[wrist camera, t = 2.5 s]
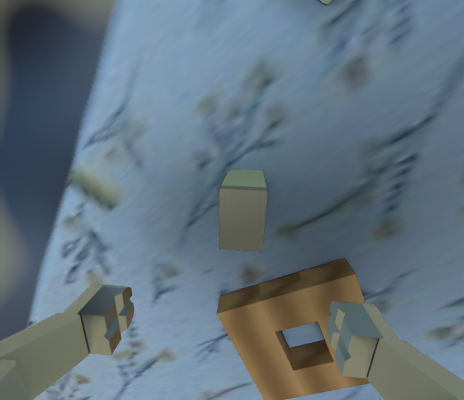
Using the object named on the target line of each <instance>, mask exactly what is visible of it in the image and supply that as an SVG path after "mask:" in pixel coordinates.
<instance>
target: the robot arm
mask: <svg viewBox="0 0 464 400" xmlns="http://www.w3.org/2000/svg"><path fill="white" fill-rule="evenodd" d="M131 296H132V291H131V288H130V287H126V286H115V285H103V284H93V285H90V286H89V287H88V288H87V289H86V290H85V291H84V292H83V293H82V294H81V295H80V296H79V297H78V298H77V299H76V300H75V301H74V302H73V303H72V304H71V305H70V306H69V307H68V308H67V309H66V310H65V311H64V312H63V313H57V314H55V315H53V316H51V317H49V318H47V319H45V320H43V321H41V322H39V323H37V324H35V325H33V326H31V327H29V328H27V329H24V330H22V331H20V332H18V333H16V334H14V335H12V336H10V337H8V338H6V339H4V340H2V341H0V400H33V399H34V398H36V397H37V396H38V395H39V394H41V393H42V392H43V391H44V390H46V389H47V388H48V387H49V386H51V385H52V384H53V383H54V382H56V381H57V380H58V379H59V378H61V377H62V376H63V375H64V374H66V373H67V372H68V371H69V370H71V369H72V368H73V367H75V366H76V365H77V364H78V363H80V362H81V361H82V360H83V359H85V358H86V357H87V356H88V355H89V354H104V355H112V353H113V352H114V350H115V348H116V347H117V345H118V343H119V342H120V340H121V334H120V333H122V332H123V331H125V330H126V329H127V328H128V327H129V325H130V323H131V321H132V318H133V314H134V305H133V303H132V302H131V301H130V297H131ZM329 310H330V312H331V316H330V317H328V318H327V324H326V329H327V336H328V340H329V343H330V346H331V347H333V348H334V349H335V350H336V353H335V359H336V362H337V364H338V367H339V370H340V372H341V375H342V376H349V377H358V378H366V379H367V380H368V382H369V383H370V384H371V385H372V386H373V387H374V388H375V389H376V390H377V391H378V392H379V394H380V395H381V396H382V397H383V398H384V399H385V400H464V381H463V380H462V379H460V378H459V377H457V376H456V375H454V374H453V373H451V372H450V371H448V370H447V369H446V368H444V367H443V366H441V365H440V364H438V363H437V362H435V361H434V360H432V359H431V358H430V357H428V356H427V355H425V354H424V353H422V352H421V351H419V350H418V349H416V348H415V347H413V346H412V345H411V344H409V343H408V342H406V341H404V340H400V339H399V338H398V336H397V335H396V334H395V332H394V331H393V329H392V328H391V327H390V325H389V324H388V322H387V321H386V320H385V318H384V317H383V316H382V314H381V313H380V311H379V310H378V309H377V307H376V306H375V305H374V304H372V303H352V302H336V301H332V302H331V304H330V308H329Z"/></svg>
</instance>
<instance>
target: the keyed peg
mask: <svg viewBox="0 0 464 400" xmlns="http://www.w3.org/2000/svg"><path fill="white" fill-rule="evenodd" d="M267 192H268V191H267V187H266V182H265V178H264V174H263V170H243V169H229V171H228V173H227V175H226V177H225V179H224V181H223V183H222V185H221V187H220V190H219V249H229V250H244V251H259V252H263V244H264V231H265V218H266V205H267Z"/></svg>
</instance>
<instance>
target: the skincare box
mask: <svg viewBox="0 0 464 400" xmlns="http://www.w3.org/2000/svg"><path fill="white" fill-rule="evenodd" d="M320 1H321V2H323V3H325V4H329V2H330V1H331V0H320Z"/></svg>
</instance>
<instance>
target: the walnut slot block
mask: <svg viewBox="0 0 464 400" xmlns="http://www.w3.org/2000/svg"><path fill="white" fill-rule="evenodd" d="M332 301H336V302H352V303H365V301H364V298H363V295H362V292H361V288H360V285H359V282H358V279H357V276H356V274H355V272H354V271H353V269H352V268H351V267H350V265H349V264H348V262H347V261H346V259H345V258H343V259H340V260H337V261H333V262H330V263H327V264H323V265H320V266H317V267H313V268H310V269H307V270H304V271H300V272H297V273H294V274H290V275H287V276H284V277H280V278H277V279H274V280H270V281H267V282H264V283H261V284H257V285H254V286H251V287H247V288H244V289H241V290H237V291H234V292H231V293H227V294H224V295H221V296H220V299H219V304H218V310H217V315H218V317H219V319H220V321H221V323H222V324H223V326H224V328H225V330H226V332H227V334H228V335H229V337H230V339H231V341H232V343H233V344H234V346H235V348H236V350H237V352H238V354H239V355H240V357H241V359H242V361H243V363H244V364H245V366H246V368H247V370H248V372H249V373H250V375H251V377H252V379H253V381H254V383H255V384H256V386H257V388H258V390H259V392H260V393H261V395H262V397H263V399H264V400H284V399H289V398H295V397H300V396H305V395H310V394H316V393H321V392H326V391H331V390H337V389H342V388H347V387H352V386H358V385H363V384H368V383H369V382H368V380H367V379H366V378H358V377H349V376H342V375H341V372H340V370H339V367H338V364H337V362H336V359H335V353H336V350H335V349H334V348H333V347H331V346H330V343H329V340H328V336H327V329H326V324H327V318H328V317H330V316H331V312H330V310H329V308H330V304H331V302H332ZM316 321H318V324H319V326H320V328H321V331H322V333H323V336H324V338H325V340H323V341H319V342H314V343H310V344H306V345H302V346H297V347H293V348H289V346H288V344H287V342H286V340H285V338H284V336H283V333H282V331H281V330H285V329H289V328H293V327H297V326H301V325H305V324H309V323H312V322H316Z"/></svg>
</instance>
